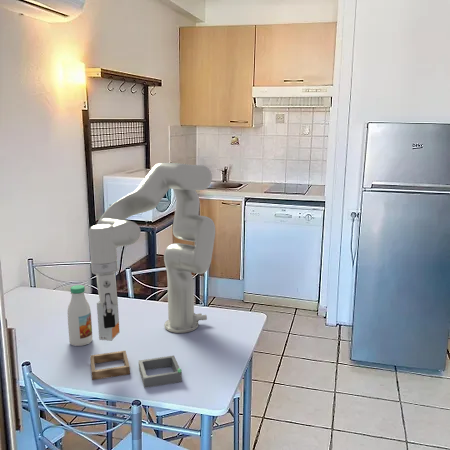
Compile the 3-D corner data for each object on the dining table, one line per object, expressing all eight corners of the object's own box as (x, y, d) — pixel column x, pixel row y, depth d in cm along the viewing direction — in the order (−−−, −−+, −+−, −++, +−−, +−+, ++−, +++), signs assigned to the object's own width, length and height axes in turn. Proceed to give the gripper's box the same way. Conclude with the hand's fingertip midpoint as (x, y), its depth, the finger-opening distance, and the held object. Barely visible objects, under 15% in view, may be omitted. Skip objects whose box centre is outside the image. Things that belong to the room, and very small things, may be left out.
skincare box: (112, 341, 144) (109, 304, 141) (98, 340, 145) (95, 303, 142) (120, 332, 150) (117, 296, 147) (107, 331, 151) (104, 295, 148)
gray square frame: (174, 364, 152) (174, 352, 151) (182, 381, 141) (182, 369, 140) (139, 369, 148) (138, 357, 147) (144, 388, 138) (143, 375, 137)
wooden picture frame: (125, 357, 156) (125, 350, 155) (129, 374, 146) (129, 366, 145) (90, 362, 153) (90, 355, 152) (92, 380, 142) (91, 372, 142)
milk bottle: (71, 348, 162) (67, 292, 158) (67, 339, 169) (63, 285, 165) (94, 343, 166) (91, 288, 161) (90, 335, 172) (86, 281, 168)
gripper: (120, 274, 135) (124, 332, 139) (114, 256, 151) (118, 309, 156) (92, 277, 133) (97, 336, 137) (90, 259, 149) (94, 312, 153)
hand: (108, 321), depth 146 cm, fingers closed on skincare box, 7 cm apart
